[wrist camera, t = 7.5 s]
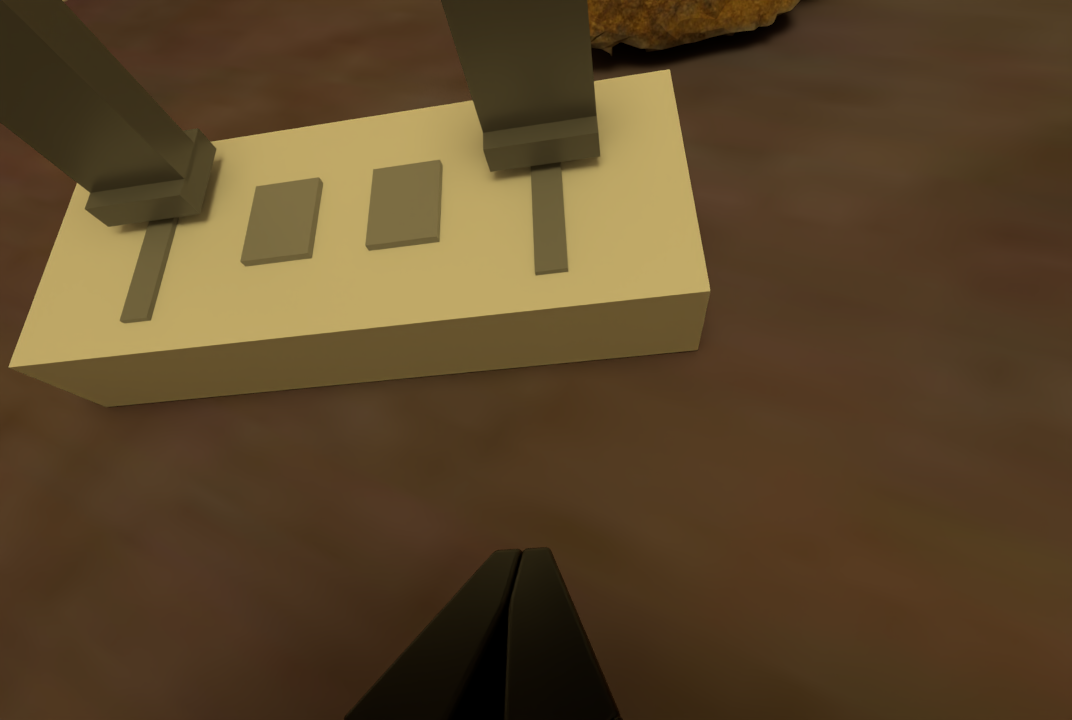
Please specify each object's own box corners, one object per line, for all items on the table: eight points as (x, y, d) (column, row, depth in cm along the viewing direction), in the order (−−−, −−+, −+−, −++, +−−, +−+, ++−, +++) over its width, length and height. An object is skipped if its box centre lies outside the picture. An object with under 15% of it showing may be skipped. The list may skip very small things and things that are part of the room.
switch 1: (201, 213, 20) (-71, -41, 13) (107, 227, 21) (-212, -11, 13) (217, 148, 22) (-20, -120, 14) (128, 162, 22) (-150, -89, 14)
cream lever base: (697, 350, 20) (711, 285, 16) (105, 407, 23) (-1, 363, 19) (664, 152, 24) (670, 61, 20) (159, 223, 27) (78, 156, 23)
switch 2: (601, 156, 19) (575, -183, 11) (488, 172, 19) (384, -141, 11) (594, 88, 20) (566, -259, 12) (488, 105, 20) (395, -218, 13)
